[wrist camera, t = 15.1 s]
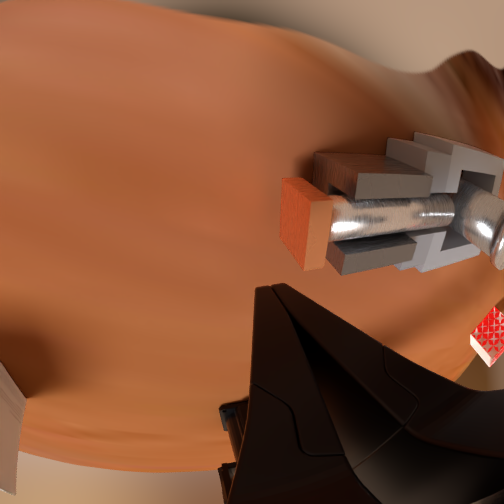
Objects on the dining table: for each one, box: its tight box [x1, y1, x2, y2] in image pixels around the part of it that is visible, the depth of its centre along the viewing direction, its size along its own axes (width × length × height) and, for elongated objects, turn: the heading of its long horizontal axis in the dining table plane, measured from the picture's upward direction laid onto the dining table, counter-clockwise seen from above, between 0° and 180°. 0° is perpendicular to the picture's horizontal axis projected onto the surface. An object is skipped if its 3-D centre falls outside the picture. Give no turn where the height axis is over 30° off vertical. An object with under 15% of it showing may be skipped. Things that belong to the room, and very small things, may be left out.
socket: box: [386, 132, 504, 273], centre depth 16 cm, size 9×12×4 cm
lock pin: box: [280, 177, 455, 271], centre depth 14 cm, size 3×11×3 cm, turn 90°
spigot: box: [445, 177, 504, 270], centre depth 15 cm, size 5×5×8 cm
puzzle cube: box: [470, 306, 504, 367], centre depth 37 cm, size 8×8×8 cm
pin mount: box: [312, 152, 433, 275], centre depth 14 cm, size 5×5×4 cm
